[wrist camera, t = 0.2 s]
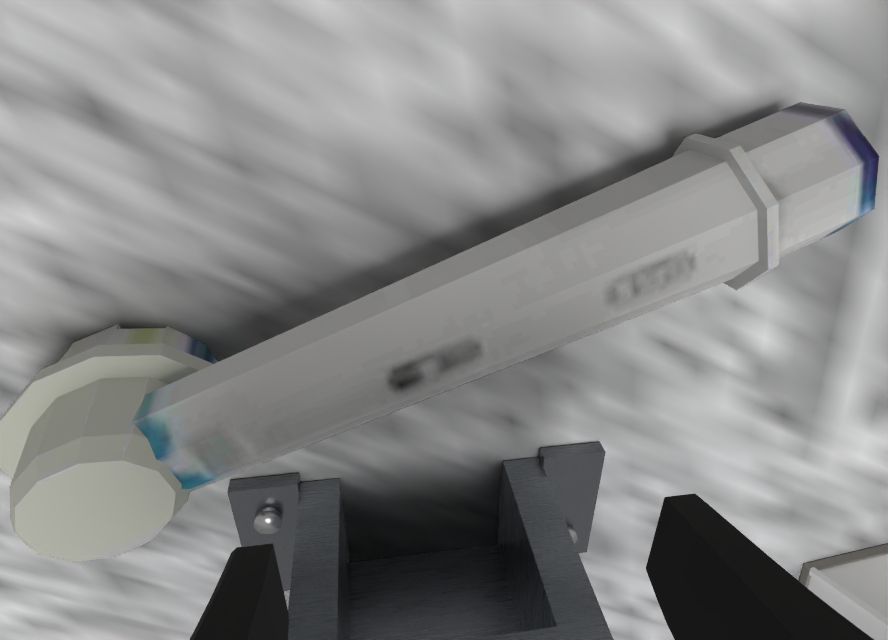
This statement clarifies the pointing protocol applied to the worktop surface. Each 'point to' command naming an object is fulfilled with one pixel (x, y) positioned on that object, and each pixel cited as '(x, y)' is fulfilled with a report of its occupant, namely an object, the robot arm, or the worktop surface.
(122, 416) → the light grey piece
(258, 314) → the worktop surface
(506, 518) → the bracket sleeve
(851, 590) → the skyscraper
